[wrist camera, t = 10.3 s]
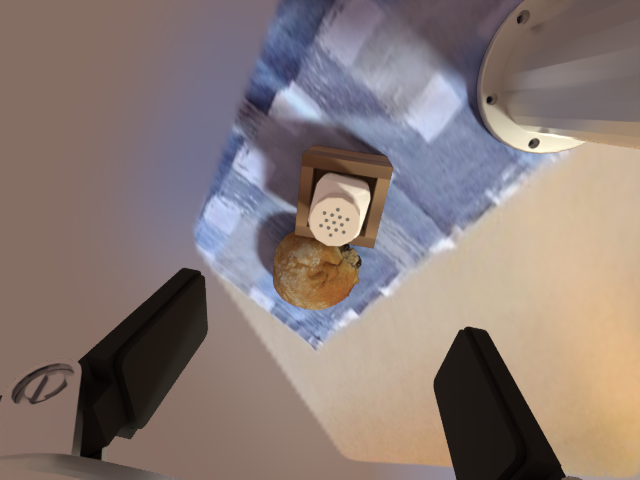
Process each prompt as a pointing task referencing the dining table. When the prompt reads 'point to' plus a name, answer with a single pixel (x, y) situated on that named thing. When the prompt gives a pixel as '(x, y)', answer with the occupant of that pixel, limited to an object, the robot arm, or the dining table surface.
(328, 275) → the bread roll
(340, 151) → the wooden open box
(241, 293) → the dining table surface
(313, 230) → the pepper shaker
